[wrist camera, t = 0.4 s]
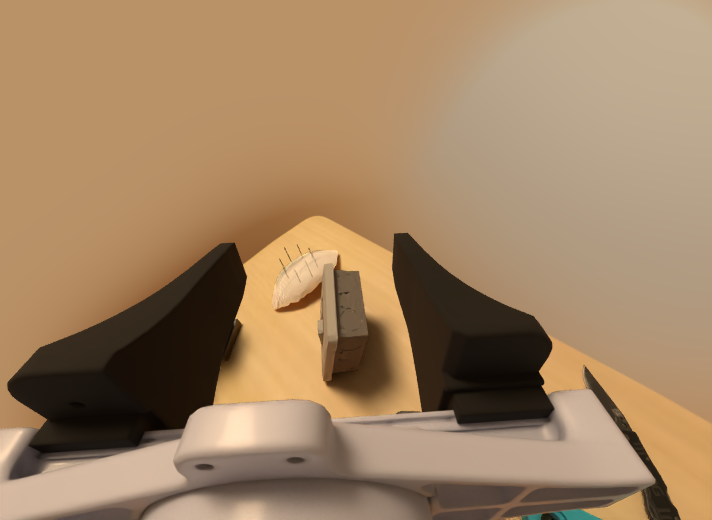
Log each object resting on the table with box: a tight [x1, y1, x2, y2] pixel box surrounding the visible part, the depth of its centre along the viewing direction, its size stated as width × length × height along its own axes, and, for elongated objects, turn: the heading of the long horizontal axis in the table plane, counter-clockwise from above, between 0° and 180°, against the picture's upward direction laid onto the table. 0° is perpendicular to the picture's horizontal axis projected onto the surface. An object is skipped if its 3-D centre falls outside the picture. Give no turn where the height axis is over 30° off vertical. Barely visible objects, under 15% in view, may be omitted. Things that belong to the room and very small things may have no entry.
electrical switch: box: [318, 263, 368, 381], centre depth 30 cm, size 9×5×9 cm, turn 6°
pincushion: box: [272, 245, 338, 310], centre depth 39 cm, size 12×6×6 cm, turn 138°
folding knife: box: [583, 365, 680, 520], centre depth 23 cm, size 13×1×2 cm
